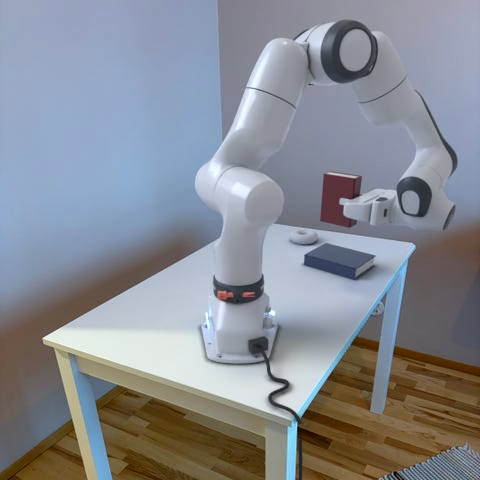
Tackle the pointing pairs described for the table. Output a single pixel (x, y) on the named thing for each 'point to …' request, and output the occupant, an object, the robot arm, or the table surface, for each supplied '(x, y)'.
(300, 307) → the table surface
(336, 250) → the slate book
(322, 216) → the burgundy book
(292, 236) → the donut
